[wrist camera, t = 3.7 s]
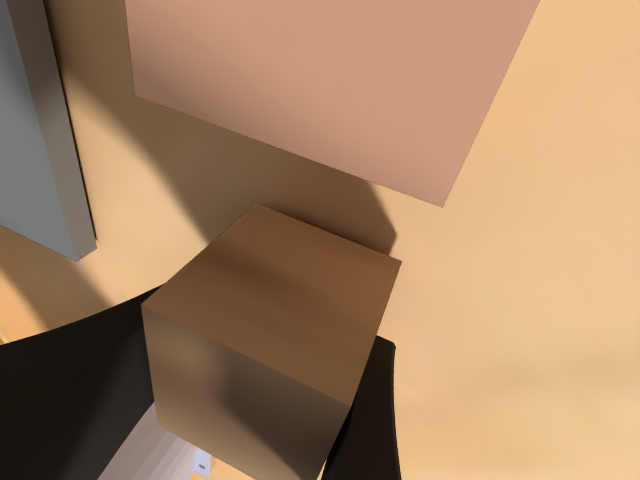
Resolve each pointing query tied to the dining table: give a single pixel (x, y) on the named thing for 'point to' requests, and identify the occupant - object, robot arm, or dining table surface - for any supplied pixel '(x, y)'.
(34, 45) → the base plate
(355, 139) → the pinkish tan block
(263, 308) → the walnut brick
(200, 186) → the dining table surface
